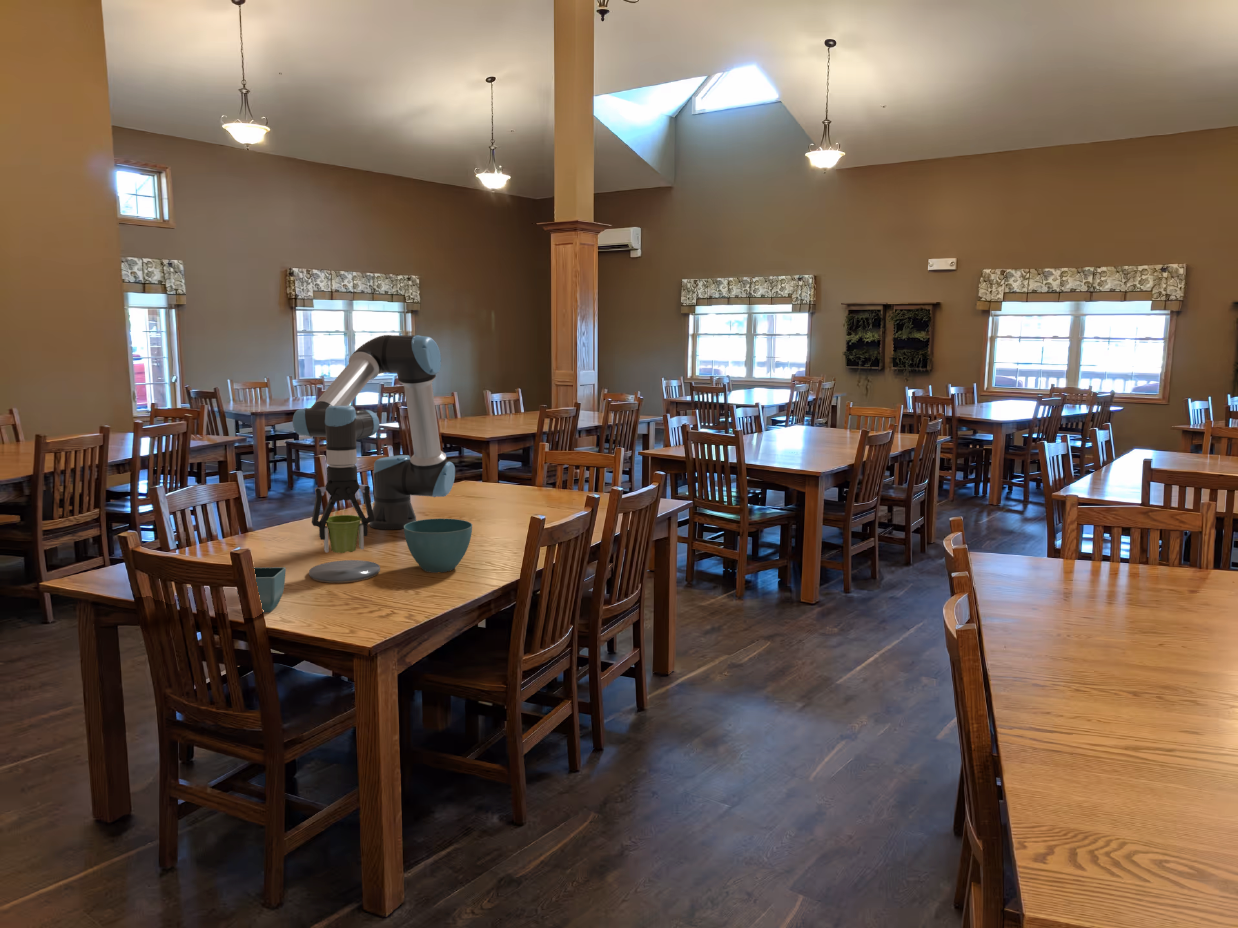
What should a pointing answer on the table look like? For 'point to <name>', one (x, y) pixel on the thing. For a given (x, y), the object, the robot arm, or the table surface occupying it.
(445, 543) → the teal bowl
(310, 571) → the trivet
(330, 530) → the plant pot
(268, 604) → the flower pot
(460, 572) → the table surface
